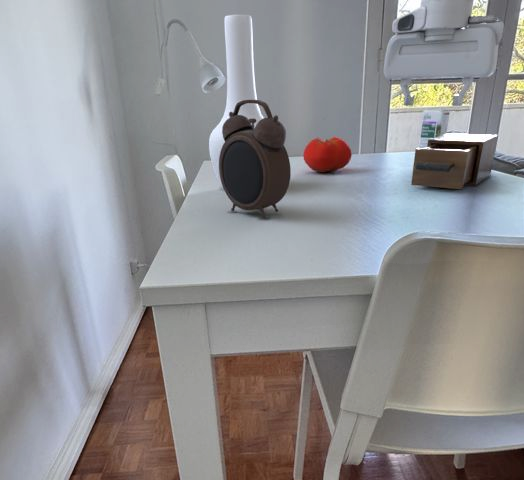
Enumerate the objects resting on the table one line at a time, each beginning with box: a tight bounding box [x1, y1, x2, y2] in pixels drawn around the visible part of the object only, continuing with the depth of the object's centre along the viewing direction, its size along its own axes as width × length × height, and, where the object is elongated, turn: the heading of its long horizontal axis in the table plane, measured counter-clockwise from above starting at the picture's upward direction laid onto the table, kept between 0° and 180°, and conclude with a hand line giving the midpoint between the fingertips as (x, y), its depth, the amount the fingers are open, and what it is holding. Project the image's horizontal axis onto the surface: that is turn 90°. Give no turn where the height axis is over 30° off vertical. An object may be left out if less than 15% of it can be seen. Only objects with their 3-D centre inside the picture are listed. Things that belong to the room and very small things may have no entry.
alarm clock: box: [219, 99, 292, 220], centre depth 88 cm, size 15×7×20 cm, turn 46°
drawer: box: [410, 144, 479, 190], centre depth 107 cm, size 18×11×8 cm, turn 145°
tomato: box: [302, 136, 353, 173], centre depth 131 cm, size 14×13×9 cm
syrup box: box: [418, 109, 451, 148], centre depth 134 cm, size 6×6×14 cm
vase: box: [208, 14, 265, 188], centre depth 108 cm, size 17×17×35 cm
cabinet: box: [427, 133, 499, 187], centre depth 116 cm, size 15×13×10 cm
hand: (432, 105), depth 91 cm, fingers open, 8 cm apart
